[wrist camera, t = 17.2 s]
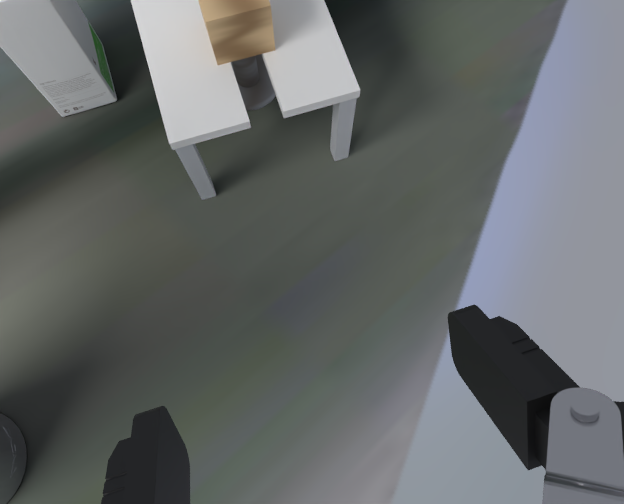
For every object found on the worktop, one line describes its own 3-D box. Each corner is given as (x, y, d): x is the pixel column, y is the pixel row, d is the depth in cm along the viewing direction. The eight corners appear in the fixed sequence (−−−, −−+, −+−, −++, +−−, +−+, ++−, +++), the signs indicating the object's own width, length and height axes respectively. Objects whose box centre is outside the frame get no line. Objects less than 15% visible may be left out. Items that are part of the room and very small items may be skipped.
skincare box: (119, 103, 55) (46, -9, 40) (58, 120, 54) (-38, 13, 39) (103, 41, 57) (29, -86, 42) (44, 57, 57) (-52, -67, 42)
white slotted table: (201, 201, 52) (169, 143, 40) (157, 44, 57) (118, -47, 46) (349, 158, 53) (360, 90, 41) (293, 8, 58) (288, -89, 47)
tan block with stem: (226, 117, 49) (200, 29, 37) (211, 66, 50) (181, -34, 39) (286, 101, 49) (279, 9, 38) (269, 51, 51) (257, -52, 39)
